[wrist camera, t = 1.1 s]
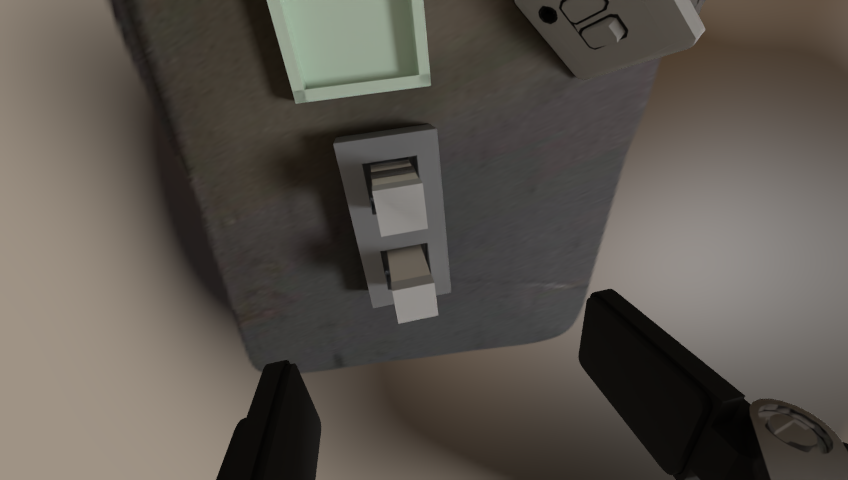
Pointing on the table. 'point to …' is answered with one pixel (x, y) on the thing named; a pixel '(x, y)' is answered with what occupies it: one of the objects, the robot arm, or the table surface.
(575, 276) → the table surface
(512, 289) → the table surface
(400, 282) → the block
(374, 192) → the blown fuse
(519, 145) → the table surface
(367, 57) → the parts tray
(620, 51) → the electrical switch
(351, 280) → the table surface
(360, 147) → the block
